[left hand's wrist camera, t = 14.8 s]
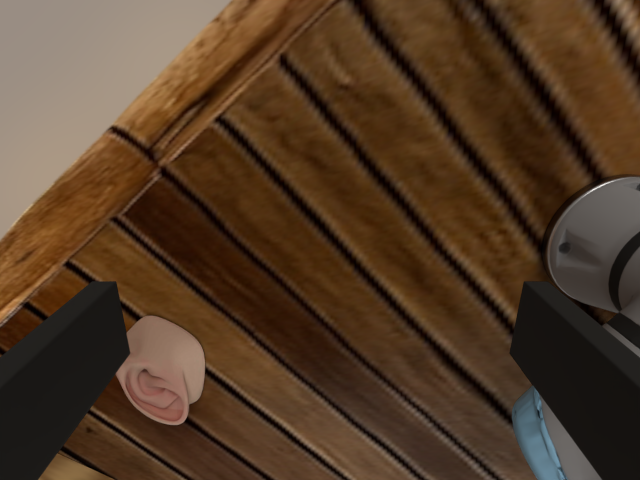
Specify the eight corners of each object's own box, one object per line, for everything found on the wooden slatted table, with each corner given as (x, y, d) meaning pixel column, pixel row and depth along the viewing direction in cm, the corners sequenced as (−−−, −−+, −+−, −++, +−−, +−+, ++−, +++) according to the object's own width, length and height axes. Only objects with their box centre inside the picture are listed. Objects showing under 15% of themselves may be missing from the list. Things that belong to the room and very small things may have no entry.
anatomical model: (110, 325, 45) (209, 351, 46) (126, 307, 48) (218, 332, 50) (96, 412, 49) (187, 434, 50) (112, 390, 53) (196, 410, 54)
